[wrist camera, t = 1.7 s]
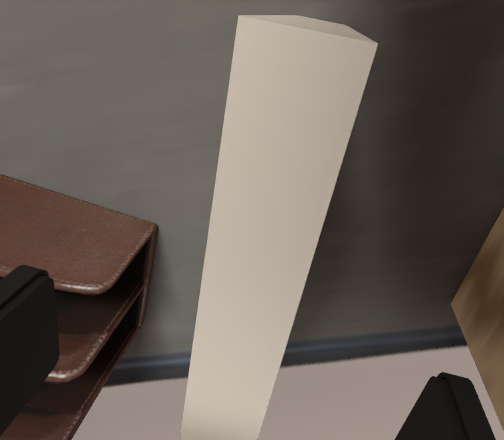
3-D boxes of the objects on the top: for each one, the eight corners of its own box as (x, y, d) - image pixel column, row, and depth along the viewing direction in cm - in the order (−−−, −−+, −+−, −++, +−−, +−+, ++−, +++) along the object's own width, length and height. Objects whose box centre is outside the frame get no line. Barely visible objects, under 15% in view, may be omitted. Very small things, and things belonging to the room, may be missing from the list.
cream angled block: (297, 15, 20) (238, 15, 7) (345, 24, 20) (377, 43, 7) (251, 242, 27) (177, 458, 14) (286, 250, 27) (245, 478, 14)
